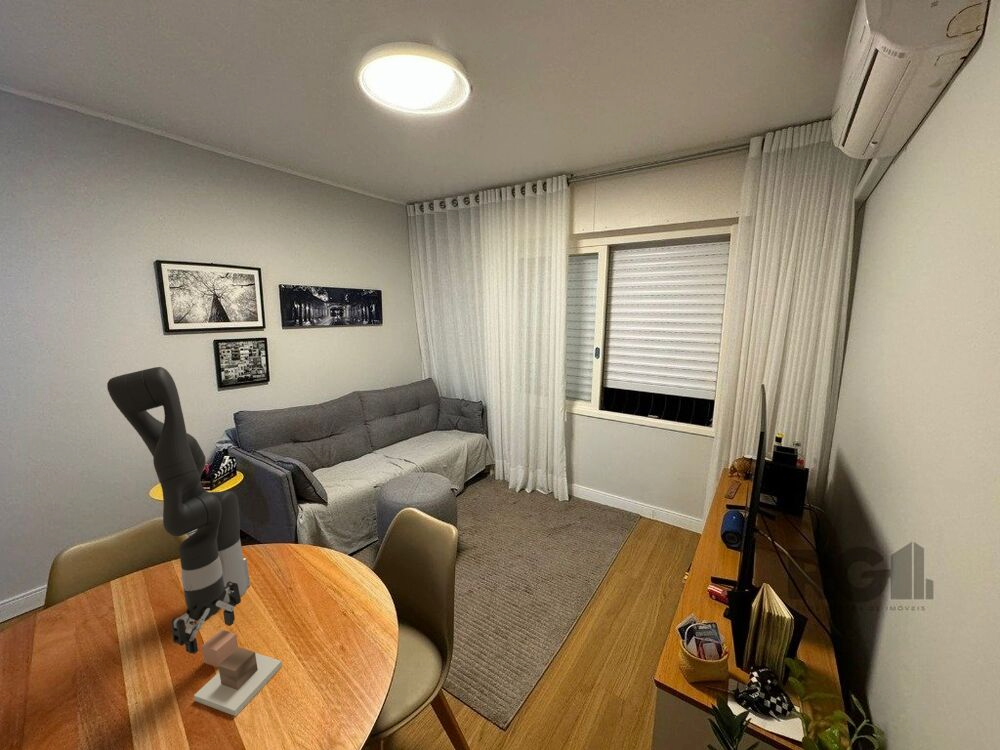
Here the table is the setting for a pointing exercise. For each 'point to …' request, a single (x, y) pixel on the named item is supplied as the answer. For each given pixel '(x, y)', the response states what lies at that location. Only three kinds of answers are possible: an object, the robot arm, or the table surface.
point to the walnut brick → (237, 668)
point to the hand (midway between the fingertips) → (212, 637)
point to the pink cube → (219, 647)
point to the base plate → (238, 699)
